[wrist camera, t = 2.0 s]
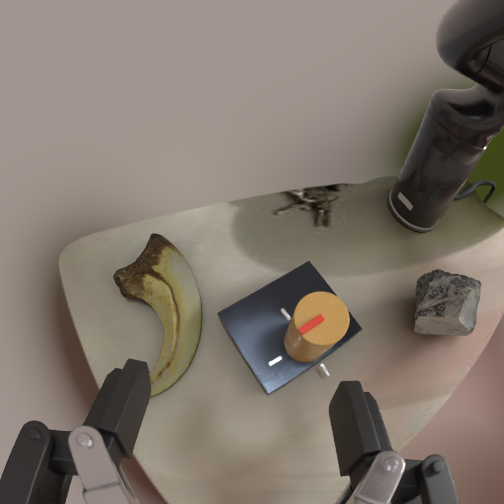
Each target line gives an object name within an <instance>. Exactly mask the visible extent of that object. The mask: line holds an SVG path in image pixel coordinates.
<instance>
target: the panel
mask: <svg viewBox="0 0 504 504" xmlns="http://www.w3.org/2000/svg"><path fill="white" fill-rule="evenodd" d="M313 292H328V293H331V294H333V295H335V296H337V295H336V294H335V293H334V292H333V290H332V289H331V288H330V286H329V285H328V284H327V283H326V281H325V280H324V279H323V278H322V276H321V275H320V274H319V273H318V271H317V270H316V269H315V268H314V266H313V265H312V264H311V263H310V261H308V262H306V263H304V264H303V265H301V266H299V267H298V268H296V269H294V270H293V271H291V272H289V273H287V274H286V275H284V276H282V277H281V278H279V279H277V280H275V281H274V282H272V283H270V284H268V285H267V286H265V287H263V288H261V289H260V290H258V291H256V292H254V293H253V294H251V295H249V296H247V297H246V298H244V299H242V300H240V301H238V302H237V303H235V304H233V305H231V306H229V307H228V308H226V309H224V310H222V311H220V312H219V313H218V316H219V319H220V321H221V323H222V324H223V326H224V328H225V329H226V331H227V333H228V334H229V336H230V337H231V339H232V341H233V342H234V344H235V346H236V347H237V349H238V350H239V352H240V354H241V355H242V357H243V358H244V360H245V361H246V363H247V365H248V366H249V368H250V369H251V371H252V372H253V374H254V375H255V377H256V379H257V380H258V382H259V383H260V385H261V386H262V388H263V389H264V391H265V392H266V394H267V395H268V394H270V393H272V392H273V391H275V390H277V389H278V388H280V387H281V386H283V385H285V384H286V383H288V382H289V381H291V380H292V379H294V378H296V377H297V376H299V375H300V374H302V373H303V372H305V371H306V370H308V369H309V368H311V367H312V366H314V365H315V364H316V363H318V362H319V361H321V360H322V359H324V358H325V357H326V356H328V355H329V354H331V353H332V352H333V351H335V350H336V349H337V348H339V347H340V346H341V345H343V344H344V343H345V342H347V341H348V340H349V339H351V338H352V337H353V336H355V335H356V334H357V333H358V332H359V331H361V330H362V328H361V327H360V325H359V324H358V323H357V322H356V320H355V319H354V318H353V316H352V315H351V314H350V312H349V311H348V313H349V326H348V329H347V332H346V333H345V335H344V336H343V337H342V338H341V339H340V340H339V341H338V342H337V343H336V344H334V345H333V346H332V347H331V348H330V349H329V350H328V351H326V352H325V353H324V354H323V355H322V356H320V357H319V358H318V359H316V360H315V361H312V362H307V363H304V362H299V361H296V360H294V359H293V358H291V357H290V356H289V355H288V353H287V352H286V349H285V346H284V337H285V334H286V331H287V329H288V326H289V324H290V321H291V319H292V316H293V314H294V311H295V308H296V306H297V304H298V303H299V301H300V300H301V299H302V298H303V297H305V296H306V295H308V294H310V293H313ZM320 366H321V368H322V369H323V371H324V372H325V373H326V375H327V376H329V375H330V372H329V371H328V370H327V368H326V367H325V365H324V364H323V363H322V364H321V365H320Z"/></svg>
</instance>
